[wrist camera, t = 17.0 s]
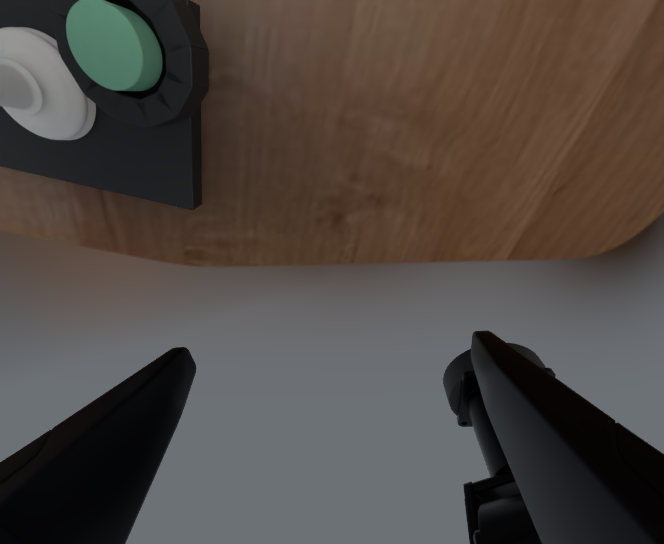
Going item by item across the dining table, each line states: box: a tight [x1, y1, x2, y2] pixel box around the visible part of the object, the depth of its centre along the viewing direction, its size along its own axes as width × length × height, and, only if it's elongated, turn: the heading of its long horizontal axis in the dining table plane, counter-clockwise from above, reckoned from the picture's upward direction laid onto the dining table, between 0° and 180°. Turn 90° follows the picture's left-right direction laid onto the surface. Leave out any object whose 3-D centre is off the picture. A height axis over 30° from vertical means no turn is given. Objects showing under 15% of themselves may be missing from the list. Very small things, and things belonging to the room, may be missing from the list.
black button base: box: [0, 0, 209, 210], centre depth 15 cm, size 14×10×3 cm
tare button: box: [66, 0, 163, 91], centre depth 13 cm, size 3×3×2 cm
